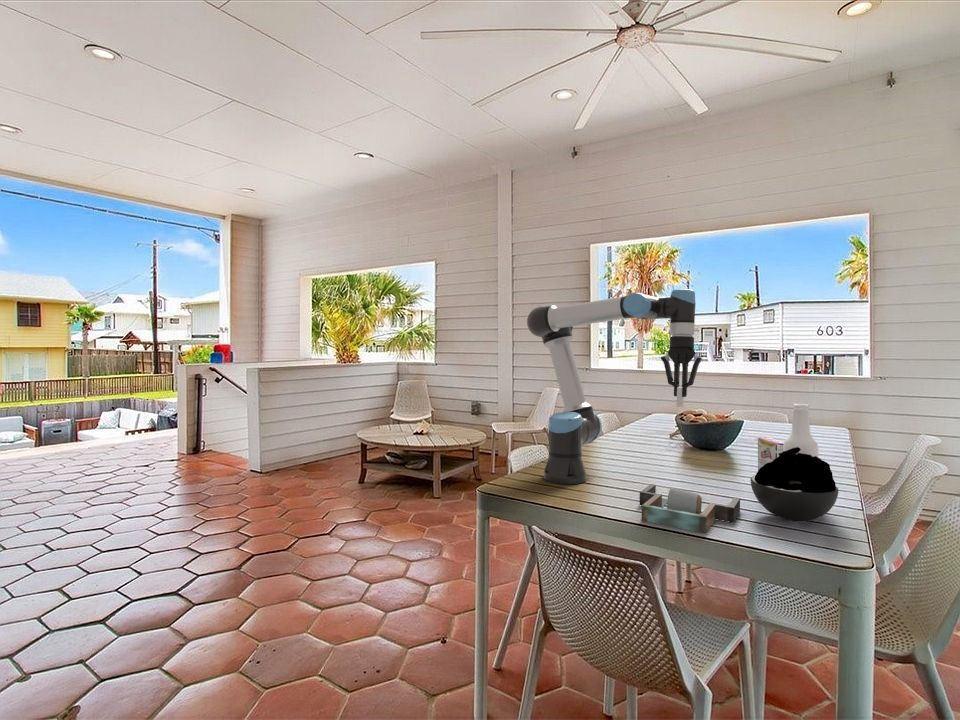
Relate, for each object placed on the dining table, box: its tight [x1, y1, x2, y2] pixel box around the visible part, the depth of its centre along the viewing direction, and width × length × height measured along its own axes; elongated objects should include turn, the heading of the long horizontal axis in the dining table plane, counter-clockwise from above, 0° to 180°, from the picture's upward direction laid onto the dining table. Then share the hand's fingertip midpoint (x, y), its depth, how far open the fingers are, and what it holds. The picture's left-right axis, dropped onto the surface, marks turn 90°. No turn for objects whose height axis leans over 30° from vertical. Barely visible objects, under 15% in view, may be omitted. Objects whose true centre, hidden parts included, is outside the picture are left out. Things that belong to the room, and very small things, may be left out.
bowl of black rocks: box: [750, 447, 839, 523], centre depth 132 cm, size 20×20×19 cm
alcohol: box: [783, 403, 820, 458], centre depth 145 cm, size 9×9×30 cm
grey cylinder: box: [666, 487, 703, 515], centre depth 135 cm, size 11×8×8 cm
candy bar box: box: [757, 437, 784, 471], centre depth 161 cm, size 11×5×16 cm, turn 179°
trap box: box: [639, 483, 741, 534], centre depth 136 cm, size 25×24×4 cm
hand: (679, 406), depth 163 cm, fingers closed
